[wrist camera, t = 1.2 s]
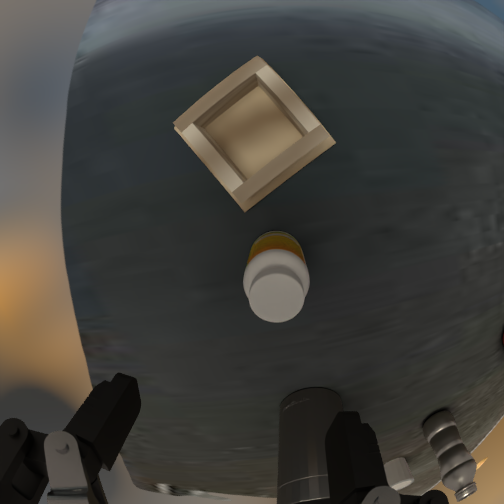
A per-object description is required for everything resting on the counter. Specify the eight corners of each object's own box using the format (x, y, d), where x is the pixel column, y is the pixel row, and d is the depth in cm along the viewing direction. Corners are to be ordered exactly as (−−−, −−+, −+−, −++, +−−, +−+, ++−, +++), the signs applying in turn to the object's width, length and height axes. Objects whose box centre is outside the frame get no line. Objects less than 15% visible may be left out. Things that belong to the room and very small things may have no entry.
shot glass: (385, 459, 41) (391, 483, 34) (412, 453, 40) (419, 476, 33) (375, 472, 43) (380, 494, 36) (401, 466, 42) (406, 488, 36)
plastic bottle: (425, 411, 35) (459, 496, 16) (454, 402, 34) (491, 479, 16) (415, 431, 37) (442, 510, 18) (443, 422, 36) (473, 494, 17)
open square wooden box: (333, 143, 24) (346, 139, 20) (245, 210, 27) (239, 220, 23) (262, 61, 22) (259, 41, 18) (177, 129, 25) (157, 123, 20)
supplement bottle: (242, 238, 28) (227, 276, 19) (293, 223, 27) (303, 253, 18) (259, 285, 30) (252, 338, 20) (308, 271, 29) (321, 320, 20)
